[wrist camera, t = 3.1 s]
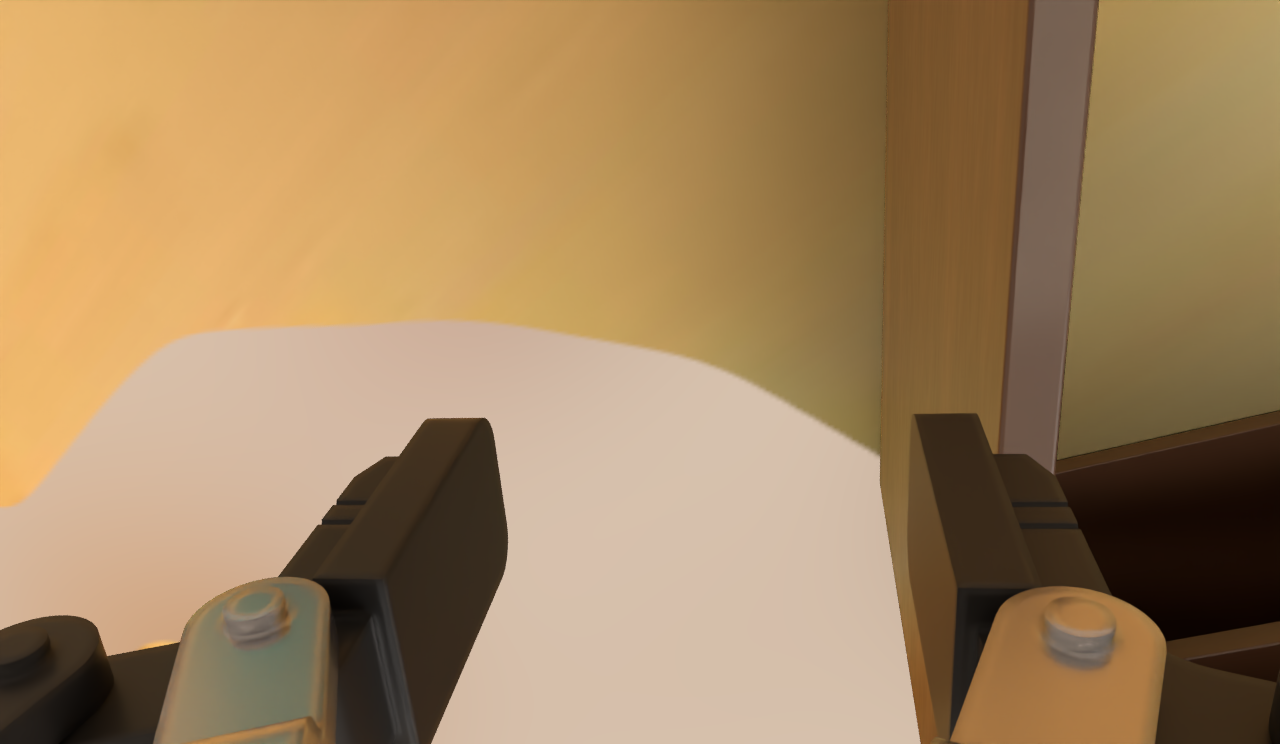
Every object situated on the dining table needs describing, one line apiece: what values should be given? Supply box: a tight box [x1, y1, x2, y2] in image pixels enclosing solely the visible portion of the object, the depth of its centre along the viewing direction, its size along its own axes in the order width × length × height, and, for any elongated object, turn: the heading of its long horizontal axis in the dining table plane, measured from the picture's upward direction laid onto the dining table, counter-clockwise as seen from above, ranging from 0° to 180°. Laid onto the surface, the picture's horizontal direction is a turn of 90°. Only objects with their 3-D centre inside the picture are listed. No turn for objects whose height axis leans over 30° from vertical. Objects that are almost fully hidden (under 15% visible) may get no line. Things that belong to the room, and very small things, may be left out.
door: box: [880, 0, 1099, 744], centre depth 30 cm, size 7×26×24 cm, turn 4°
